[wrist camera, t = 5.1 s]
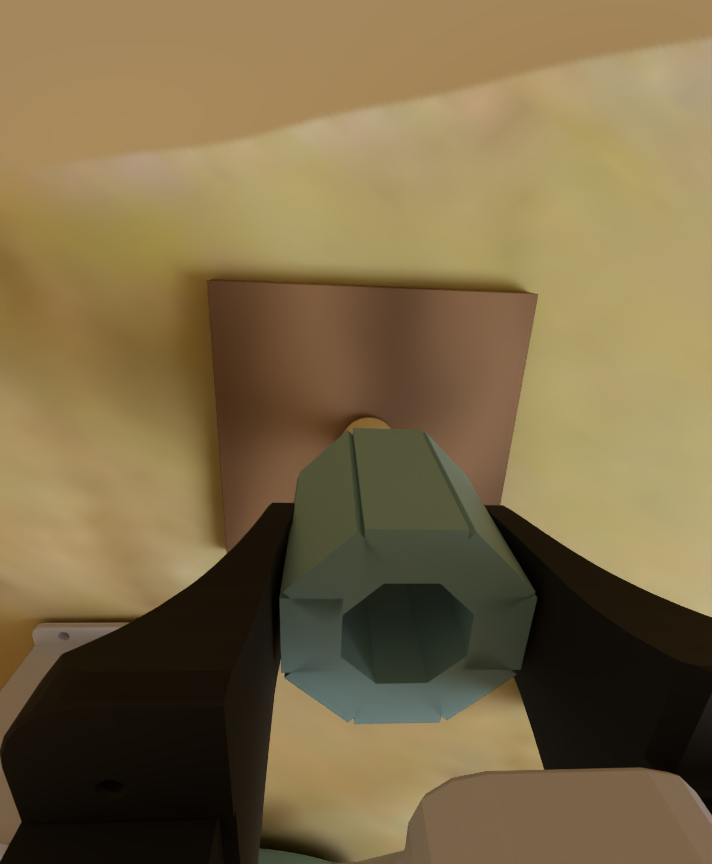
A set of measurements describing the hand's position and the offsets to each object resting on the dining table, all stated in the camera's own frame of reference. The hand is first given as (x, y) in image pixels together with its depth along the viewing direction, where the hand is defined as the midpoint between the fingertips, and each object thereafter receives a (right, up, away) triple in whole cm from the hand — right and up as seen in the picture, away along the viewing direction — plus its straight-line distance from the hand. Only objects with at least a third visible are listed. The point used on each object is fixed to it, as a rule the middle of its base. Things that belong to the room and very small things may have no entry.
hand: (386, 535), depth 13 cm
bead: (0, +1, +1) cm, 1 cm away
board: (0, +3, +7) cm, 8 cm away
